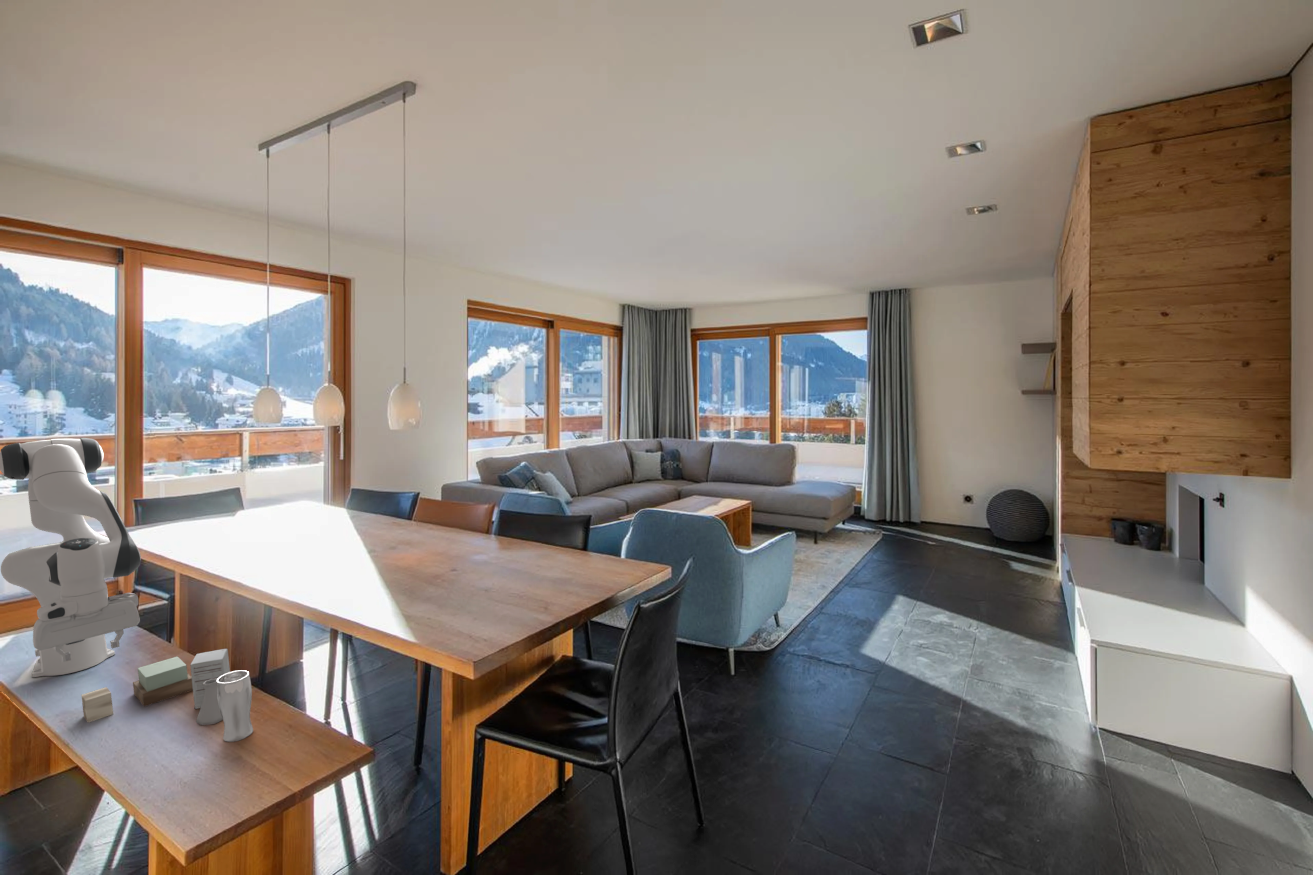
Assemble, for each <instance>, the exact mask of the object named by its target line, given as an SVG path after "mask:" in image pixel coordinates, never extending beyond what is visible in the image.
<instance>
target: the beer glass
mask: <svg viewBox="0 0 1313 875" xmlns="http://www.w3.org/2000/svg"><path fill="white" fill-rule="evenodd" d="M252 689H253V688H252V681H251V677H250V672H249V671H247V670H242V669H241V670H233V671H230V673H227V674H224V675H222V676H220V677H219V678H218V679H217V701H218V706H219V709H220V712H221V715H222V718H223V720H222V722H223V727H224V728H223V729H224V730H223V737H222V738H223V741H224V742H227V743H234V742H238V741H242V740H244V739H246V738H248V737H249V736H251V735H252V734H253V732H254V728H253V725H252V720H251V707H252V699H253V698H252V696H253V690H252Z"/></svg>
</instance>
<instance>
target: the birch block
mask: <svg viewBox="0 0 1313 875" xmlns="http://www.w3.org/2000/svg"><path fill="white" fill-rule="evenodd" d="M81 702H82V703H81V704H82V712H83V717H84V719H85V720H86V722H87V723H92V722H94V721H95V722H96V721H97V720H100V719H103V718H105V717H110V716H113V715H114V710H113V709H114V708H113V700H112V692H111V690H110V689H109V688H108V687H107V686H105V687H102V688H99V689H96V690H93V691H90V692H87V693H86V692H85V693H82V694H81Z"/></svg>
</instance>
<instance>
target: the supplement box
mask: <svg viewBox="0 0 1313 875" xmlns="http://www.w3.org/2000/svg"><path fill="white" fill-rule="evenodd" d="M229 660H230V658H229V650H228V648H221V649H216V650H212V651H205V652H200V653H199V652H198V653H196V655H195V656H194V658H193V659H192V661H191V663H190V664H189V665H190V674H191V675H190V676H191V677H192V686H193V690H192V694H193V702H194V709H197V710H198V709H201V706H202V702H203V699H204V693H205V687H204V685H203V683H204V682H205V681H207V680H210V679H218V678H219V677H220V676H222V675H224V674H227V673H230V672H231V669H230V668H231V667H230V661H229Z"/></svg>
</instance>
